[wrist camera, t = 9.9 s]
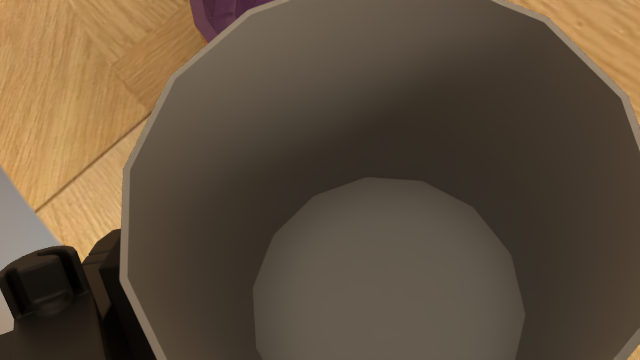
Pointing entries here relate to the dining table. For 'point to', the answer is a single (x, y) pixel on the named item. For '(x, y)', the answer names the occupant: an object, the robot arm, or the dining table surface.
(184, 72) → the cup
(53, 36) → the dining table surface
